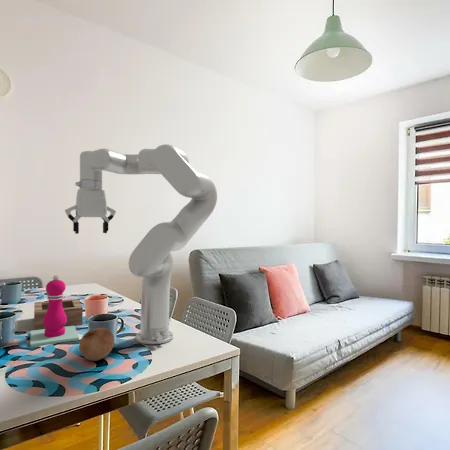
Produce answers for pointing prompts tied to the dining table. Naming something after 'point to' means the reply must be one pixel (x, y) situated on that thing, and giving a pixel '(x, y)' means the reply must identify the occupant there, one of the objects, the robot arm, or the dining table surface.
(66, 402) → the dining table surface
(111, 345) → the brown oval lump
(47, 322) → the pepper mill
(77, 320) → the box
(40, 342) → the green mat
